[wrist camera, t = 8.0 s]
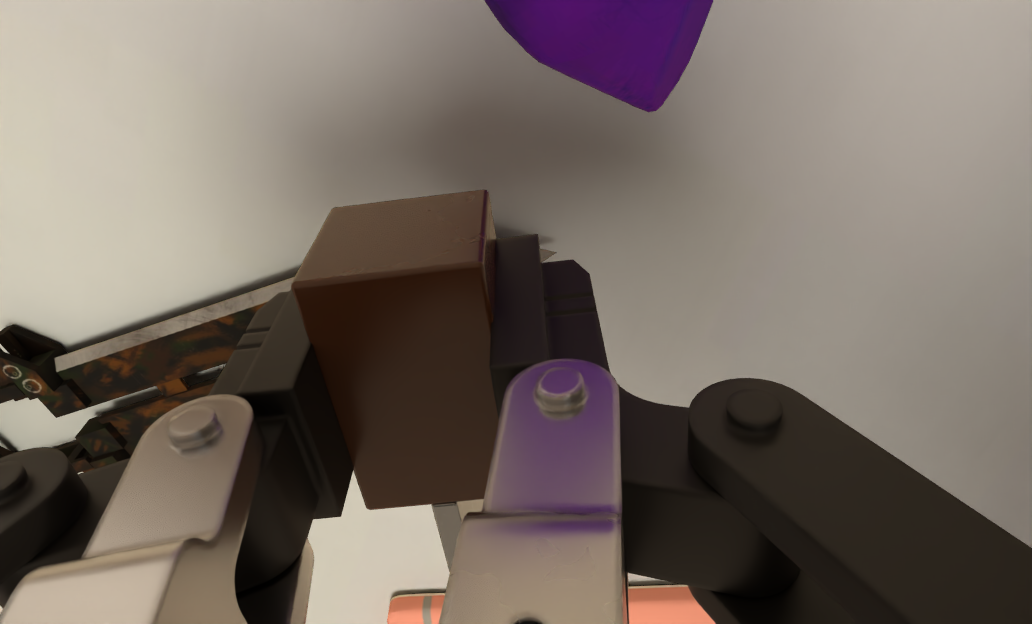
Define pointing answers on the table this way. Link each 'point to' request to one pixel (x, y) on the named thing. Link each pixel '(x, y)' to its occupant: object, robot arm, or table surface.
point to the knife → (128, 372)
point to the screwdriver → (409, 347)
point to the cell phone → (652, 609)
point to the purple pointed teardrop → (610, 41)
